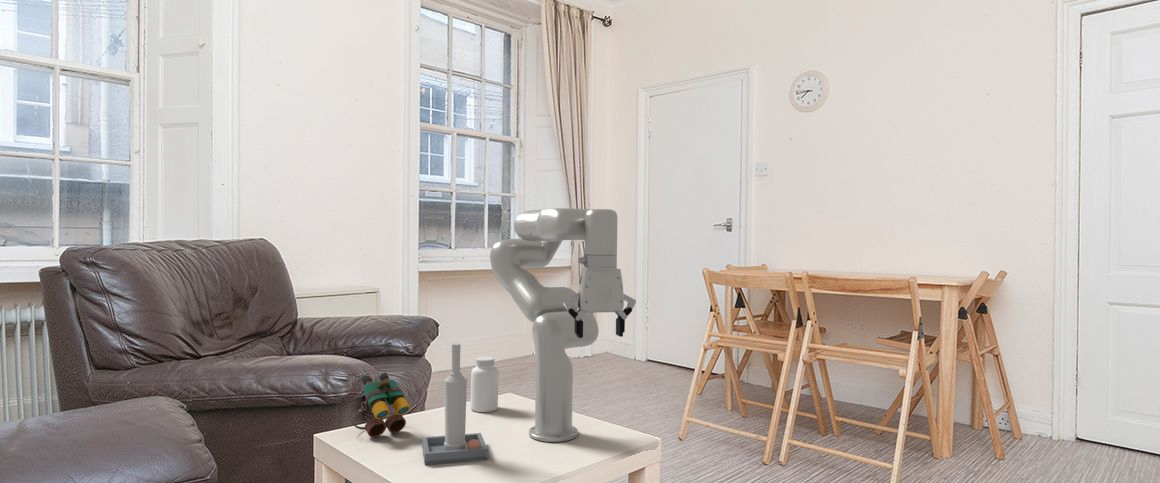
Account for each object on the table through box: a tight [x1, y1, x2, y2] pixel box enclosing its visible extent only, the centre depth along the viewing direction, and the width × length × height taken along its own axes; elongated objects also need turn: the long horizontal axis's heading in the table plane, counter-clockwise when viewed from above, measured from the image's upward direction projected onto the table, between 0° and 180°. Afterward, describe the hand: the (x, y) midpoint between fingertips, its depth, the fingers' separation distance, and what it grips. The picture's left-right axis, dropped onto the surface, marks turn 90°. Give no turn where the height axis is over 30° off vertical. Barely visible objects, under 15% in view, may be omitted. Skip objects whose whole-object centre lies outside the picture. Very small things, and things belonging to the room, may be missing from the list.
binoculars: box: [350, 372, 411, 438], centre depth 169 cm, size 14×14×15 cm
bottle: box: [444, 342, 468, 451], centre depth 153 cm, size 5×5×25 cm
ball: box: [467, 439, 481, 449], centre depth 151 cm, size 3×3×3 cm
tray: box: [421, 432, 489, 466], centre depth 153 cm, size 12×14×2 cm
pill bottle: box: [470, 356, 499, 413], centre depth 191 cm, size 8×8×15 cm
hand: (599, 336), depth 151 cm, fingers open, 9 cm apart
